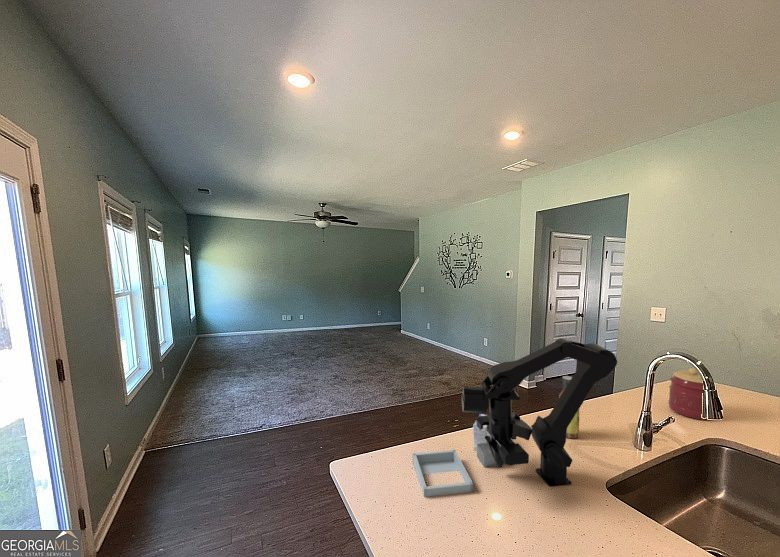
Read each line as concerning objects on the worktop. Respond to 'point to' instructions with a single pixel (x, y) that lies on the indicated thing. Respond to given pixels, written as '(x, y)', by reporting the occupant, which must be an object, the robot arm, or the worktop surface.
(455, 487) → the tray
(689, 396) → the canister
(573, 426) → the sauce bottle
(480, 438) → the medicine box
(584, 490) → the worktop surface
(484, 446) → the block
